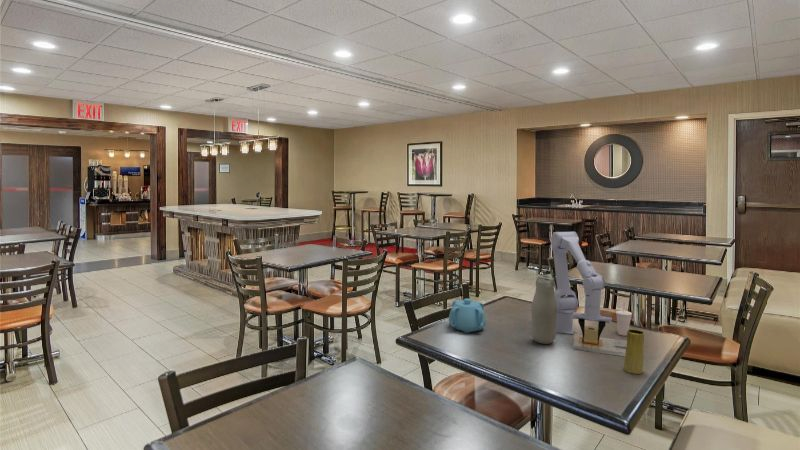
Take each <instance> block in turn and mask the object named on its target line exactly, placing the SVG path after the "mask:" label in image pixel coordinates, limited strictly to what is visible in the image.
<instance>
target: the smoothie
mask: <svg viewBox="0 0 800 450" xmlns="http://www.w3.org/2000/svg"><path fill="white" fill-rule="evenodd" d="M625 304H626V302H623V304H622V310H616V311H615V314H616V325H617V327H616V328H617V335H620V336H623V337H624V336H625V337H627V331H628V330H629V329H630V324H631V320H632V319H631V318H632V317H633V313H632V312H630V311H627V310H625V306H626V305H625Z"/></svg>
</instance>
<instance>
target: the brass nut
mask: <svg viewBox="0 0 800 450" xmlns="http://www.w3.org/2000/svg"><path fill="white" fill-rule="evenodd" d="M584 329H585V331H584V342H583V343H585V344H592V345H599V344H598V326H597V327H595V326H587V325H585V328H584Z"/></svg>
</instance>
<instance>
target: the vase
mask: <svg viewBox="0 0 800 450" xmlns="http://www.w3.org/2000/svg"><path fill="white" fill-rule="evenodd" d="M626 341H627V345H626V347H625V349H626V355H625V357H624V364H623V370H624V371H625V372H627V373H629V374H633V375H642V374H644V343H645V332H644V331H643V330H640V329H636V328H635V329H634V328H629V330H628V331H627V335H626Z"/></svg>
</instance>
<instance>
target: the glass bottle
mask: <svg viewBox="0 0 800 450" xmlns="http://www.w3.org/2000/svg"><path fill="white" fill-rule="evenodd" d="M555 291H556V290H555V279H554V278H553V277H552V276H550V275H544V274H543V275H538V276H537V277H536V280H535V292H534V295H533V298H532V302H531V323H530V324H531V325H530V326H531V327H530V329H531V332H530V333H531V337H532V339H533V341H535V342H536V343H539V344H542V345H549V344H551V343H553V342H554V341H555V340H556V336H557V332H556V327H557V307H558V306H557V300H556V297H555Z"/></svg>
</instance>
